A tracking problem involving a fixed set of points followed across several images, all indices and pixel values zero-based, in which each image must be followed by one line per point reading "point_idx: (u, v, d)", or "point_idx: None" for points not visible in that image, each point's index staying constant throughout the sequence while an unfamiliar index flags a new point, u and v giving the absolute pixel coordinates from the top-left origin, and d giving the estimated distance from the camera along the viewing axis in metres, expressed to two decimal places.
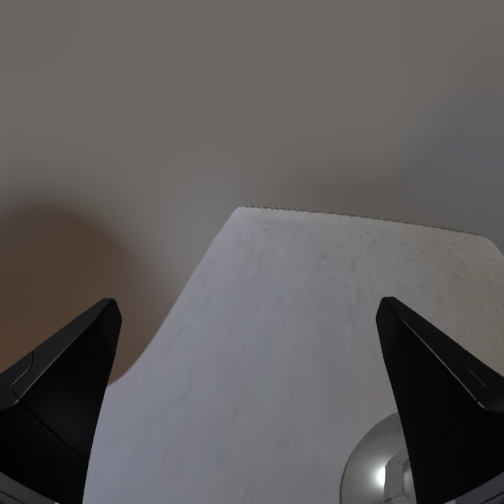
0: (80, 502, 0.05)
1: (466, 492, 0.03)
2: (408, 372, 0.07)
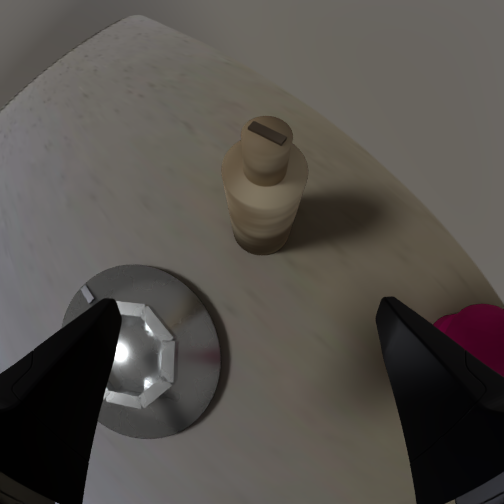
0: (80, 502, 0.05)
1: (466, 492, 0.03)
2: (408, 372, 0.07)
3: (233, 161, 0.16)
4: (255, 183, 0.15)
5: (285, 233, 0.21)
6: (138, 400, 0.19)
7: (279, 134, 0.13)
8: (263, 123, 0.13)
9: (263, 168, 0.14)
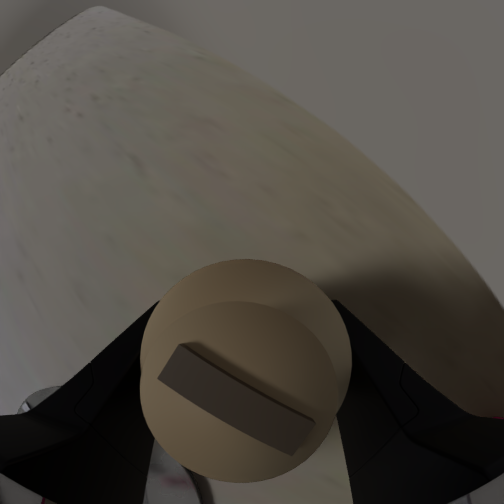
0: None
1: None
2: None
3: None
4: None
5: None
6: None
7: (287, 406, 0.03)
8: (223, 346, 0.03)
9: None
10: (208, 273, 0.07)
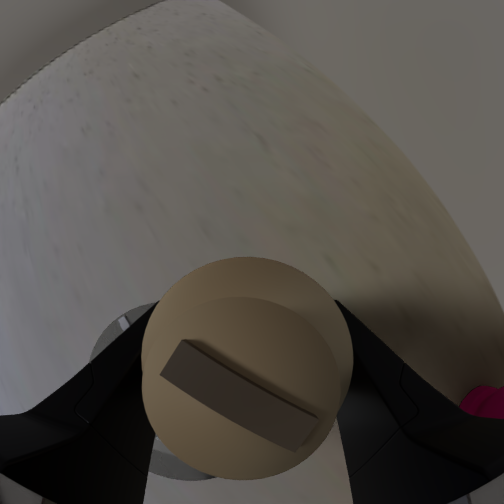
0: None
1: None
2: None
3: None
4: None
5: None
6: None
7: (290, 403, 0.03)
8: (225, 341, 0.03)
9: None
10: (210, 271, 0.07)
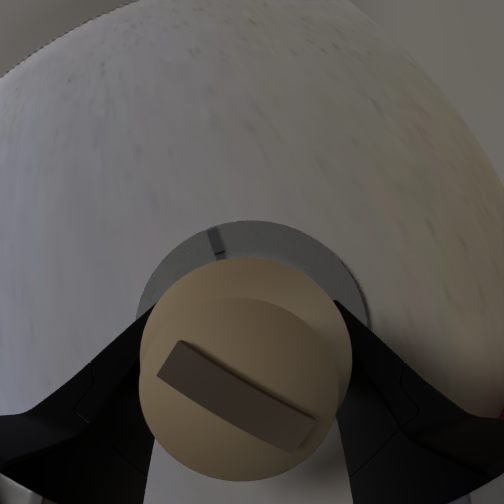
0: None
1: None
2: None
3: None
4: None
5: None
6: None
7: (287, 404, 0.03)
8: (223, 343, 0.03)
9: None
10: (208, 271, 0.06)
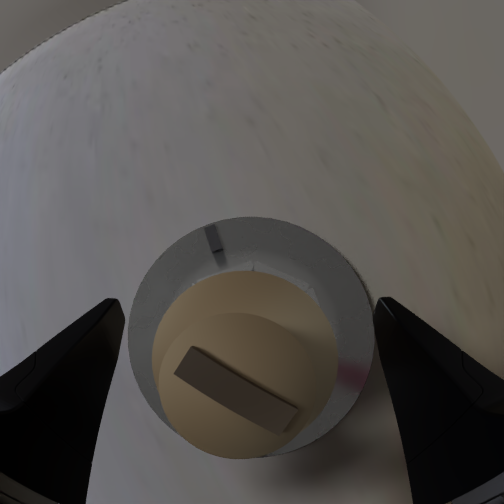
0: (83, 503, 0.05)
1: (462, 494, 0.03)
2: (404, 373, 0.07)
3: None
4: None
5: None
6: None
7: (275, 396, 0.04)
8: (225, 347, 0.04)
9: None
10: (211, 283, 0.07)
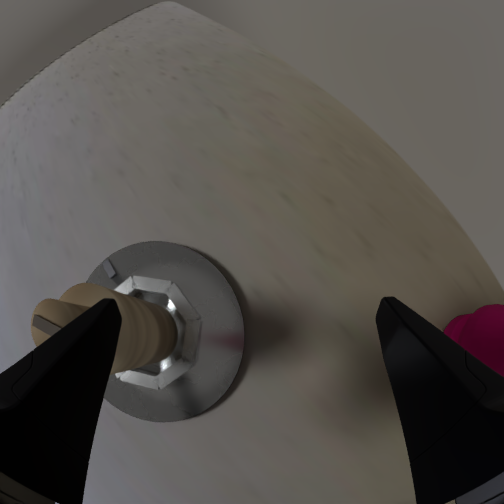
0: (80, 502, 0.05)
1: (466, 492, 0.03)
2: (408, 372, 0.07)
3: None
4: None
5: (160, 351, 0.18)
6: (155, 380, 0.19)
7: (58, 326, 0.09)
8: (44, 312, 0.09)
9: None
10: (66, 294, 0.13)
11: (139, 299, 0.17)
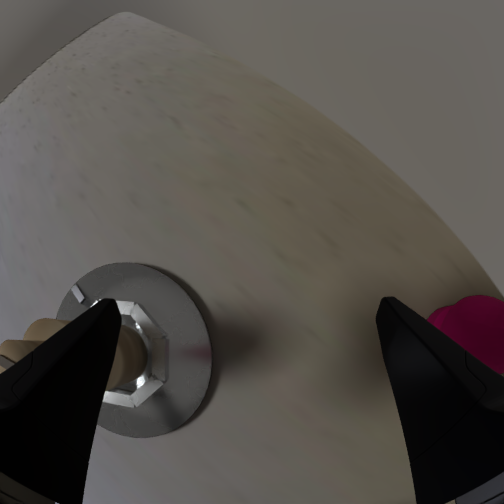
0: (80, 502, 0.05)
1: (466, 492, 0.03)
2: (408, 372, 0.07)
3: None
4: None
5: (127, 373, 0.17)
6: (131, 399, 0.19)
7: None
8: (6, 352, 0.09)
9: None
10: (29, 330, 0.12)
11: None
